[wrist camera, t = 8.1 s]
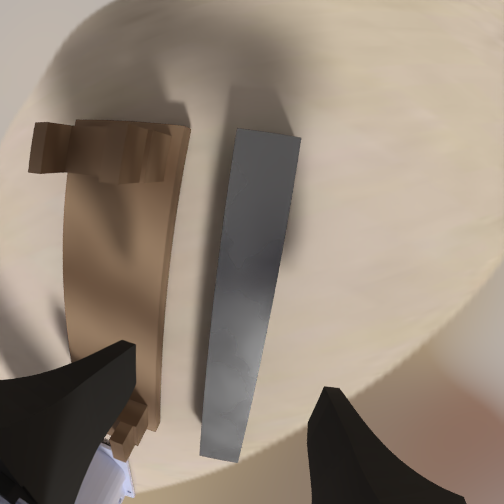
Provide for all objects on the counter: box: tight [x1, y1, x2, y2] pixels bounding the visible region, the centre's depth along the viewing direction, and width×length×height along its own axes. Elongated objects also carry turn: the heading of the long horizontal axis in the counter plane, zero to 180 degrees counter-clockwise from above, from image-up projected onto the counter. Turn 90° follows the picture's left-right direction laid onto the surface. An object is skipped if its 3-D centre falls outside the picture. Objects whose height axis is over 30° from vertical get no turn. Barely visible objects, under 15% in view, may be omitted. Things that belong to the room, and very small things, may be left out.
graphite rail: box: [199, 128, 301, 463], centre depth 14 cm, size 18×2×2 cm, turn 172°
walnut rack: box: [28, 120, 191, 463], centre depth 13 cm, size 18×6×5 cm, turn 169°
